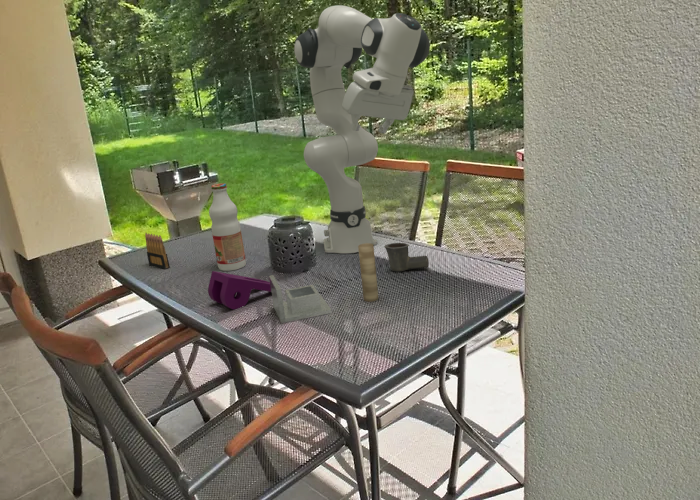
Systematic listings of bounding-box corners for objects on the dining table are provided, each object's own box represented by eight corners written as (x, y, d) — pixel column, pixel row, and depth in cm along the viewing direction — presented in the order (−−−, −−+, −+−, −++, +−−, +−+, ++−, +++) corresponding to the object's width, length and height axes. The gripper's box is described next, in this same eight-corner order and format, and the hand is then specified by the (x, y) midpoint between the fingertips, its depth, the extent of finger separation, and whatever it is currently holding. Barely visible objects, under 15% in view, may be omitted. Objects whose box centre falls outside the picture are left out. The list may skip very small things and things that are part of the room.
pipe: (428, 272, 176) (426, 246, 174) (385, 273, 179) (382, 248, 177) (429, 265, 182) (427, 240, 179) (387, 267, 185) (385, 242, 182)
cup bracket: (273, 307, 162) (268, 275, 159) (320, 297, 165) (317, 266, 162) (281, 323, 151) (276, 290, 148) (331, 312, 154) (327, 280, 151)
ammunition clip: (149, 265, 213) (142, 232, 209) (153, 263, 214) (146, 231, 211) (165, 269, 206) (158, 236, 202) (170, 267, 207) (163, 234, 204)
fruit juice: (240, 271, 195) (226, 186, 187) (213, 271, 198) (198, 188, 190) (250, 261, 204) (237, 180, 196) (225, 262, 206) (211, 182, 198)
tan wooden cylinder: (361, 297, 162) (356, 244, 158) (375, 295, 163) (370, 242, 158) (366, 302, 158) (360, 248, 154) (380, 299, 159) (375, 246, 155)
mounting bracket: (258, 307, 179) (205, 300, 167) (265, 280, 179) (212, 270, 167) (275, 315, 172) (221, 307, 160) (282, 286, 172) (228, 277, 160)
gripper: (408, 81, 161) (390, 128, 167) (348, 71, 148) (331, 123, 155) (422, 91, 157) (403, 139, 163) (362, 81, 144) (344, 134, 151)
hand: (368, 131), depth 159 cm, fingers open, 8 cm apart
